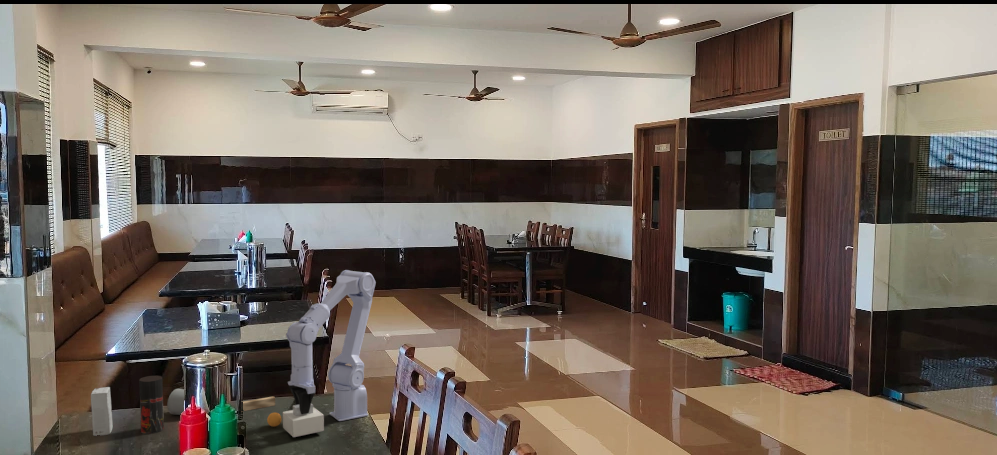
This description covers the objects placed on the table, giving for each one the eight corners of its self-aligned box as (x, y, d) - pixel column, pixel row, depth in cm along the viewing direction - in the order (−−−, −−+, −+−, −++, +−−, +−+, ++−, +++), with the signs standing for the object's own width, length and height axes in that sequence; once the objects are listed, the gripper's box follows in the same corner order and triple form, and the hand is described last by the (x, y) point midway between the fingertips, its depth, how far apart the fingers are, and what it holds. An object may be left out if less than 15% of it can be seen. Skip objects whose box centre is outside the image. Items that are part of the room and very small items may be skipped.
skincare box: (109, 434, 207) (108, 392, 206) (91, 436, 206) (90, 394, 205) (113, 427, 213) (111, 386, 212) (95, 429, 212) (93, 387, 211)
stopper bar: (273, 404, 235) (273, 396, 234) (275, 405, 233) (275, 397, 233) (234, 410, 228) (234, 403, 228) (236, 412, 227) (236, 404, 226)
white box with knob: (312, 421, 216) (312, 398, 215) (323, 430, 208) (323, 406, 208) (283, 427, 211) (282, 403, 210) (293, 437, 204) (292, 412, 203)
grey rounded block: (190, 419, 220) (190, 394, 219) (166, 417, 222) (166, 392, 221) (212, 409, 230) (211, 384, 230) (188, 406, 232) (188, 382, 231)
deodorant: (167, 429, 211) (165, 378, 210) (146, 435, 207) (144, 382, 206) (158, 424, 215) (157, 374, 214) (137, 429, 211) (135, 378, 210)
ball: (279, 422, 218) (278, 409, 217) (283, 426, 215) (283, 413, 214) (265, 425, 216) (265, 412, 215) (269, 429, 212) (269, 416, 212)
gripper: (279, 361, 212) (280, 407, 213) (297, 373, 200) (298, 422, 201) (303, 357, 216) (304, 402, 217) (322, 369, 204) (322, 417, 205)
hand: (303, 411), depth 209 cm, fingers closed on white box with knob, 2 cm apart
